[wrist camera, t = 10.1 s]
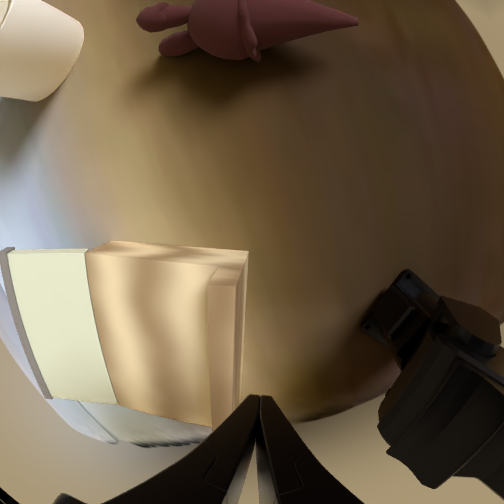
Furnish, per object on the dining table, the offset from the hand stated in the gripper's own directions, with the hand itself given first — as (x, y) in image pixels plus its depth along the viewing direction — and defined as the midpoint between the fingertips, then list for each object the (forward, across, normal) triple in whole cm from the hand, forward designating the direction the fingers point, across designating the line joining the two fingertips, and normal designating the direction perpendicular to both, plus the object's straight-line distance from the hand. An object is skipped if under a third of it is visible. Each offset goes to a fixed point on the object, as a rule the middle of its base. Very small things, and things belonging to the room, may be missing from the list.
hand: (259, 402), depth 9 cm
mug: (+13, -25, +22) cm, 36 cm away
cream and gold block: (+13, -8, -6) cm, 16 cm away
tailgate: (+9, -14, -6) cm, 17 cm away
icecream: (+13, -2, +19) cm, 23 cm away
